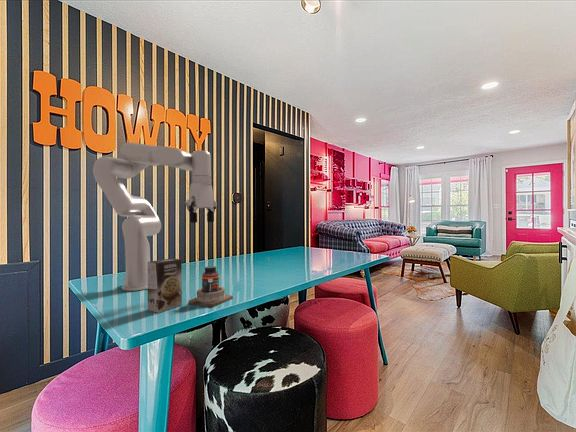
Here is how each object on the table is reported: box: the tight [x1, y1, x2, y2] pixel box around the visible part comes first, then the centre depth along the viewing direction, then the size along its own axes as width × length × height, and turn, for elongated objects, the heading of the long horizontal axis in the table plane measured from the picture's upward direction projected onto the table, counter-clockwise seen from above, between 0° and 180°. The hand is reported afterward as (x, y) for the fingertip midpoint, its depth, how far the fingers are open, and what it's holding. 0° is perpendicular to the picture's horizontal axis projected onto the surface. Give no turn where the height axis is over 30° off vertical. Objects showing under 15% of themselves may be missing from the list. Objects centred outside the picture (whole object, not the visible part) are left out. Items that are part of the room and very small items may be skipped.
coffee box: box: [147, 258, 183, 314], centre depth 94 cm, size 9×6×16 cm
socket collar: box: [187, 286, 234, 308], centre depth 101 cm, size 11×11×4 cm
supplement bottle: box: [201, 265, 220, 293], centre depth 101 cm, size 6×6×11 cm
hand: (202, 222), depth 116 cm, fingers open, 9 cm apart
